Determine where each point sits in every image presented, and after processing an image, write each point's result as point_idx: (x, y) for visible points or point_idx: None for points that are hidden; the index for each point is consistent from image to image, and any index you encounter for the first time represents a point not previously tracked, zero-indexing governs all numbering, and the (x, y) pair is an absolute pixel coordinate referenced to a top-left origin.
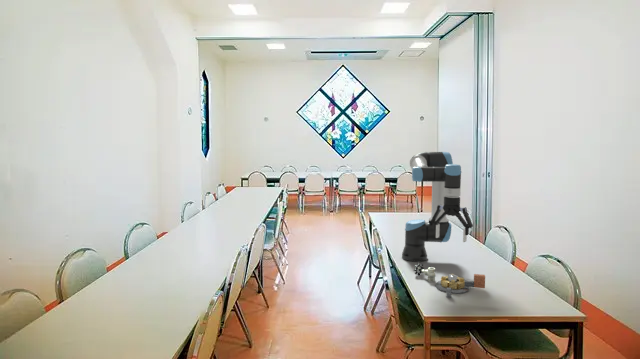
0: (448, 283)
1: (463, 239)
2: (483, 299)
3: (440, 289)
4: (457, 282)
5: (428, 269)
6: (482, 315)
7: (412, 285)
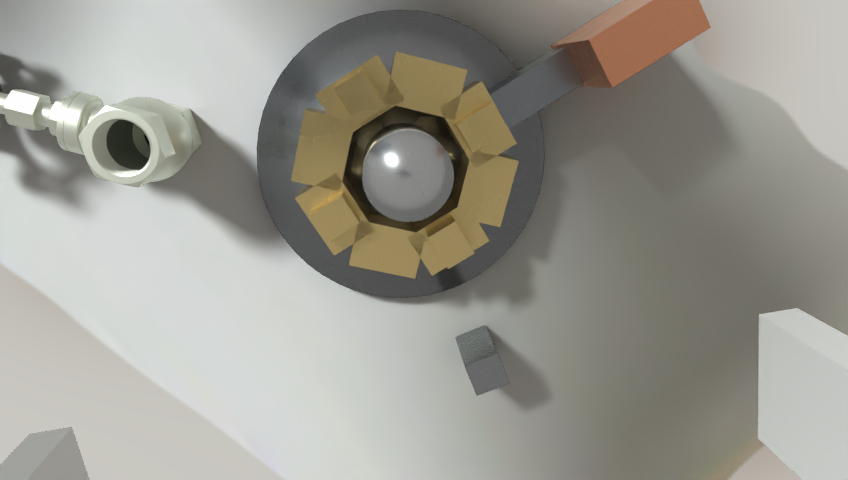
0: (418, 264)
1: (810, 473)
2: (689, 211)
3: (367, 291)
4: (473, 202)
5: (110, 178)
6: (763, 444)
7: (142, 351)
